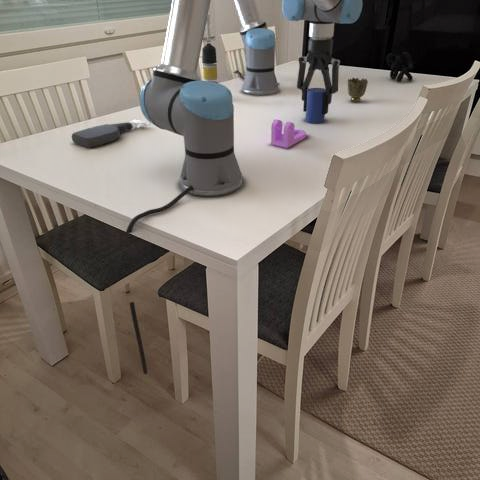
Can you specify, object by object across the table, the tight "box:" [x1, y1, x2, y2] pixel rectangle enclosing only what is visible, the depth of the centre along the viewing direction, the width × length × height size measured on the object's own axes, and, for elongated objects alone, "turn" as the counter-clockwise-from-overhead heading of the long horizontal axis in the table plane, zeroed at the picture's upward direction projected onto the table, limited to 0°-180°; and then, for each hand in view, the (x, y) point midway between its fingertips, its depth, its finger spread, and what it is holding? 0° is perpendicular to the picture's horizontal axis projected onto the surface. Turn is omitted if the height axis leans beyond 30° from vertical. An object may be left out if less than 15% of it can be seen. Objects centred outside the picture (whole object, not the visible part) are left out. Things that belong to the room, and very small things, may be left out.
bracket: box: [270, 119, 307, 149], centre depth 134 cm, size 13×6×7 cm, turn 143°
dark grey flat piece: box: [71, 119, 151, 149], centre depth 142 cm, size 3×11×25 cm
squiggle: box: [385, 51, 414, 83], centre depth 198 cm, size 11×10×15 cm
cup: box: [347, 77, 369, 103], centre depth 170 cm, size 8×7×8 cm
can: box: [305, 87, 326, 124], centre depth 150 cm, size 6×6×10 cm
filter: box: [201, 14, 219, 83], centre depth 171 cm, size 6×6×30 cm
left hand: (315, 111), depth 151 cm, fingers closed on can, 6 cm apart
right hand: (341, 15), depth 186 cm, fingers open, 13 cm apart
